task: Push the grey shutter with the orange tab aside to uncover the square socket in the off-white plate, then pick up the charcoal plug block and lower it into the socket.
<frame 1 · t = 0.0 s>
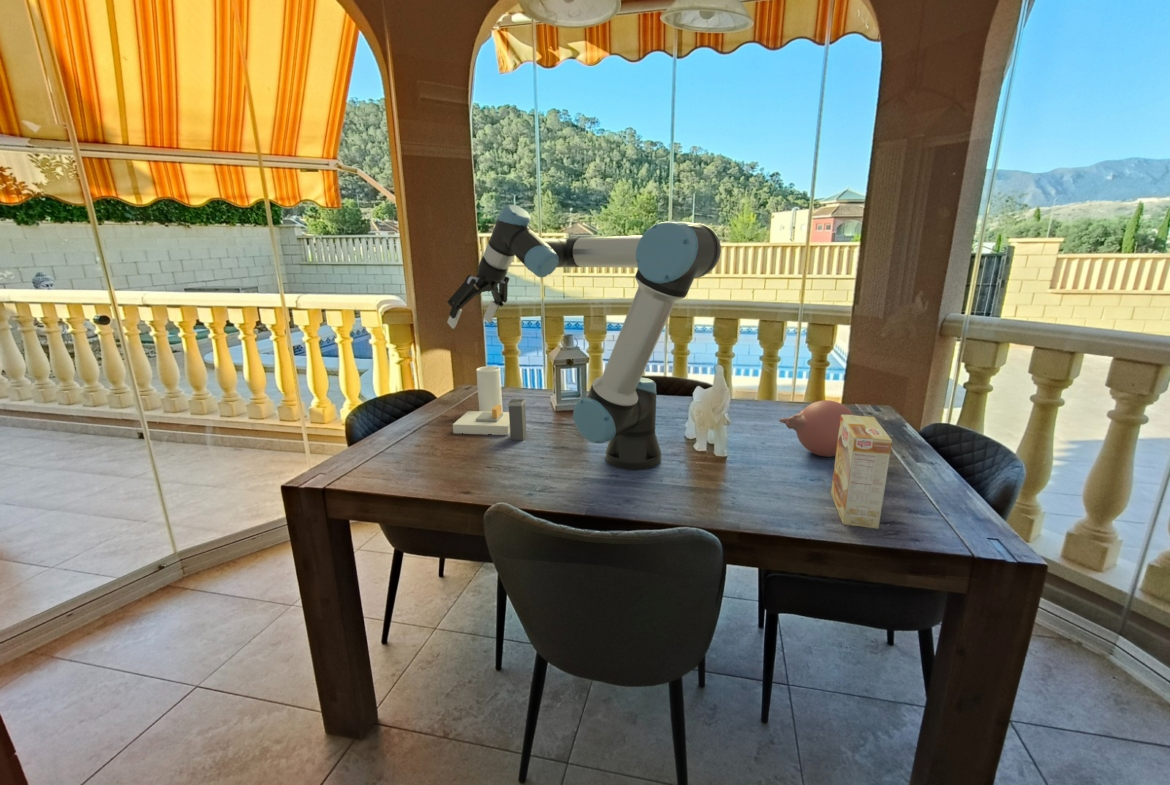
hand: (469, 322, 146), 36 cm above the table, tool tilted 35°, fingers open, 13 cm apart
plug: (518, 437, 156), on the table
cup: (491, 412, 182), on the table
pomegranate: (814, 454, 141), on the table
shutter: (489, 412, 165), point 5 cm above the table, slide at 0.0 cm
coffeecake box: (852, 510, 110), on the table
socket plate: (487, 426, 166), on the table
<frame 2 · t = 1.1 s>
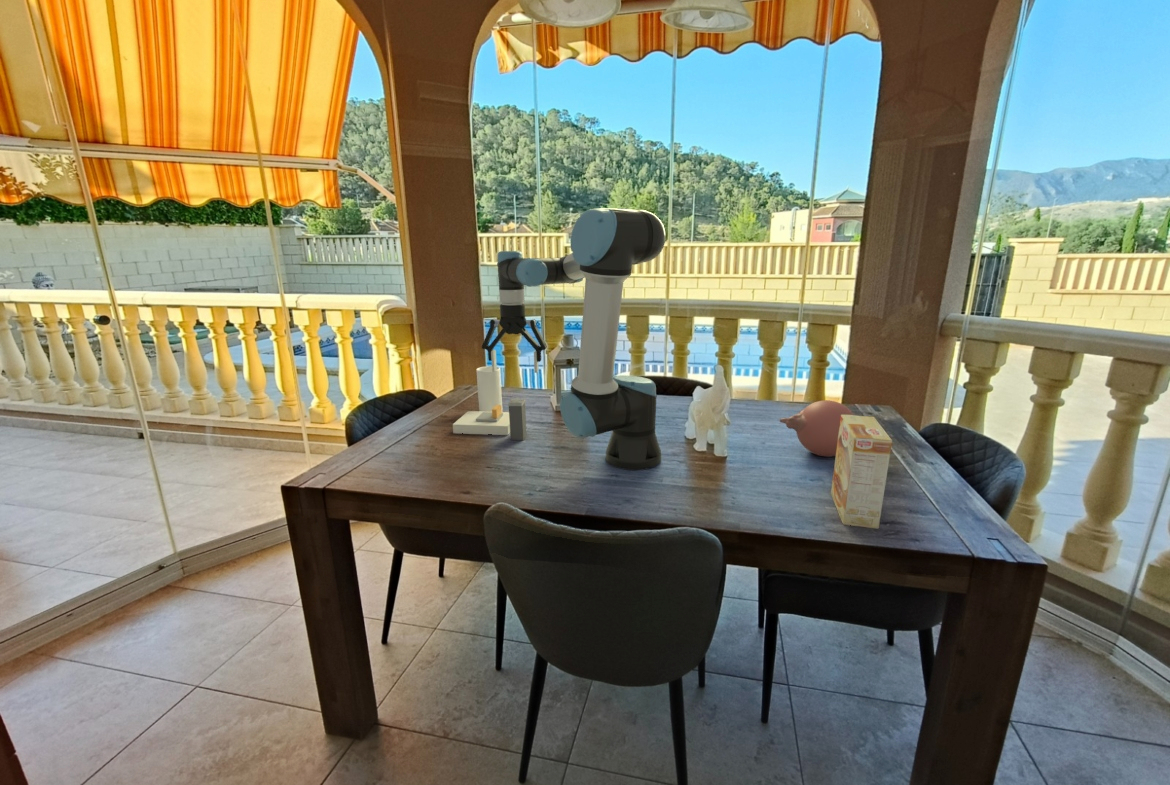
hand: (515, 371, 159), 19 cm above the table, tool pointing down, fingers open, 13 cm apart
nothing on the table moved.
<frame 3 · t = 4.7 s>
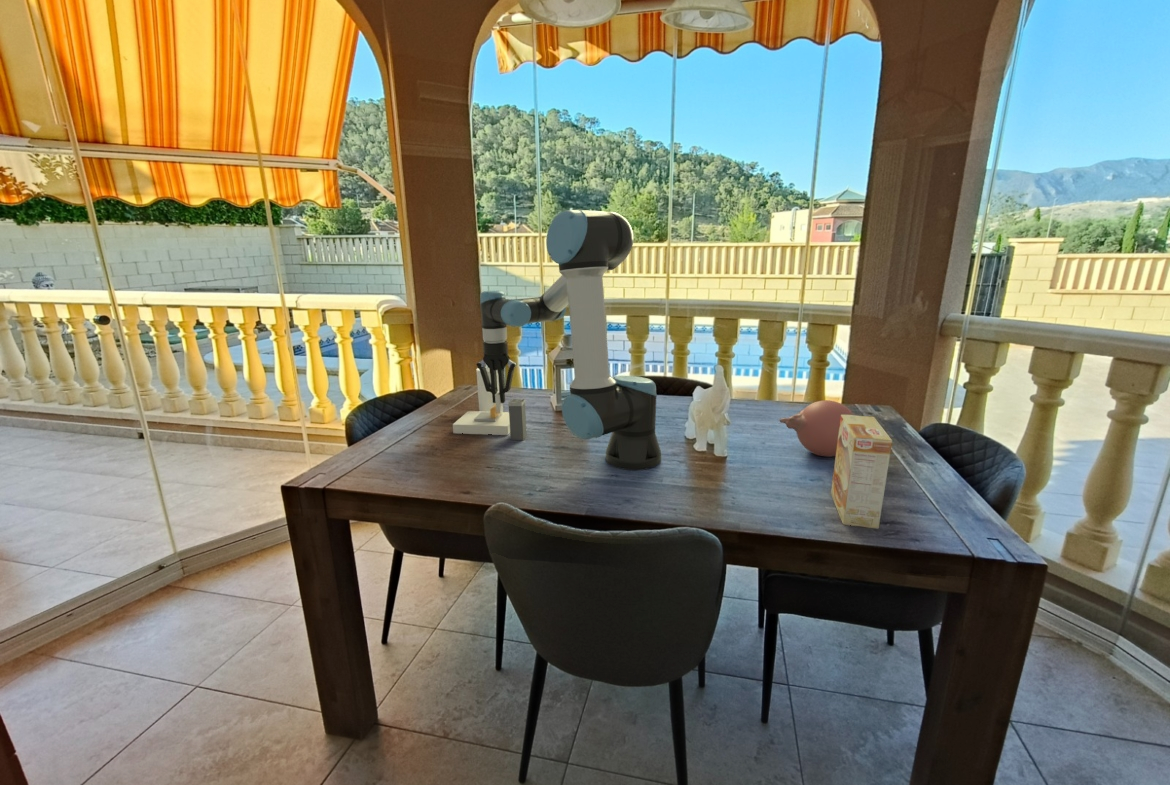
hand: (499, 412, 165), 5 cm above the table, tool pointing down, fingers closed
shutter: (487, 412, 165), point 5 cm above the table, slide at 0.6 cm, touching gripper
everything else where it was.
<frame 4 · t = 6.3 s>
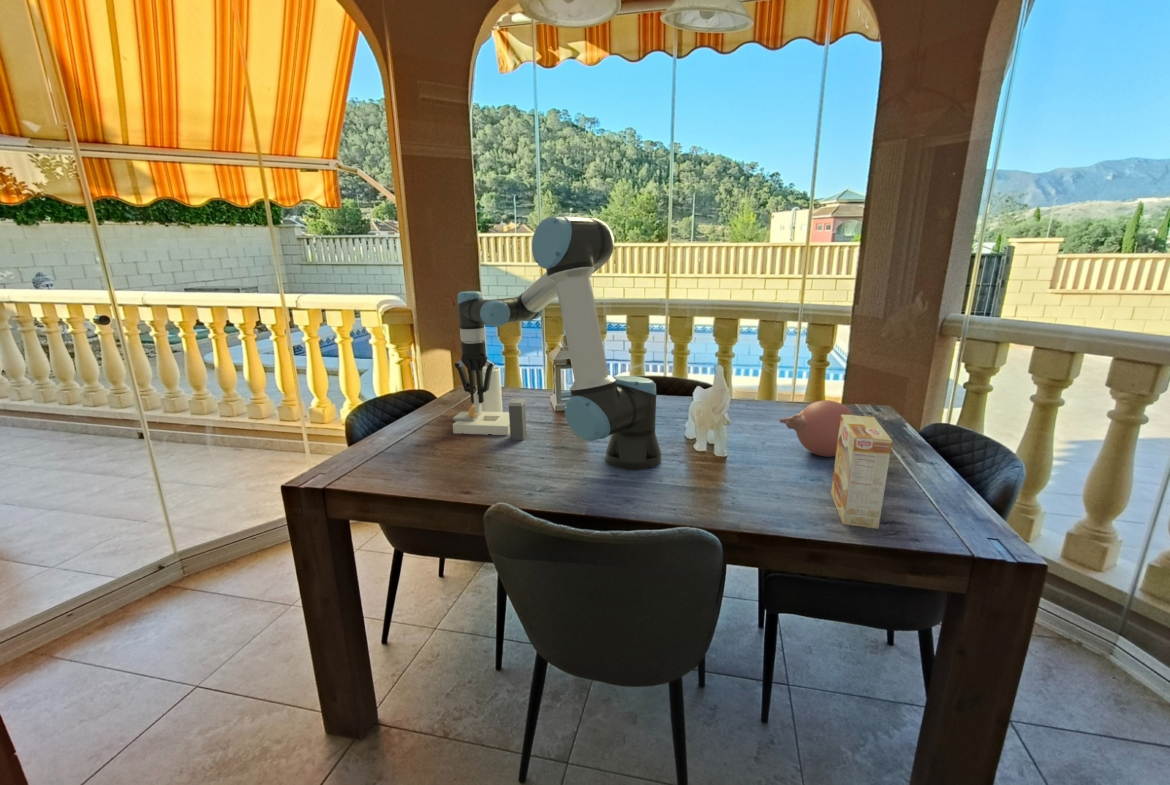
hand: (478, 412, 166), 5 cm above the table, tool pointing down, fingers closed
shutter: (466, 411, 166), point 5 cm above the table, slide at 7.8 cm
everything else where it was.
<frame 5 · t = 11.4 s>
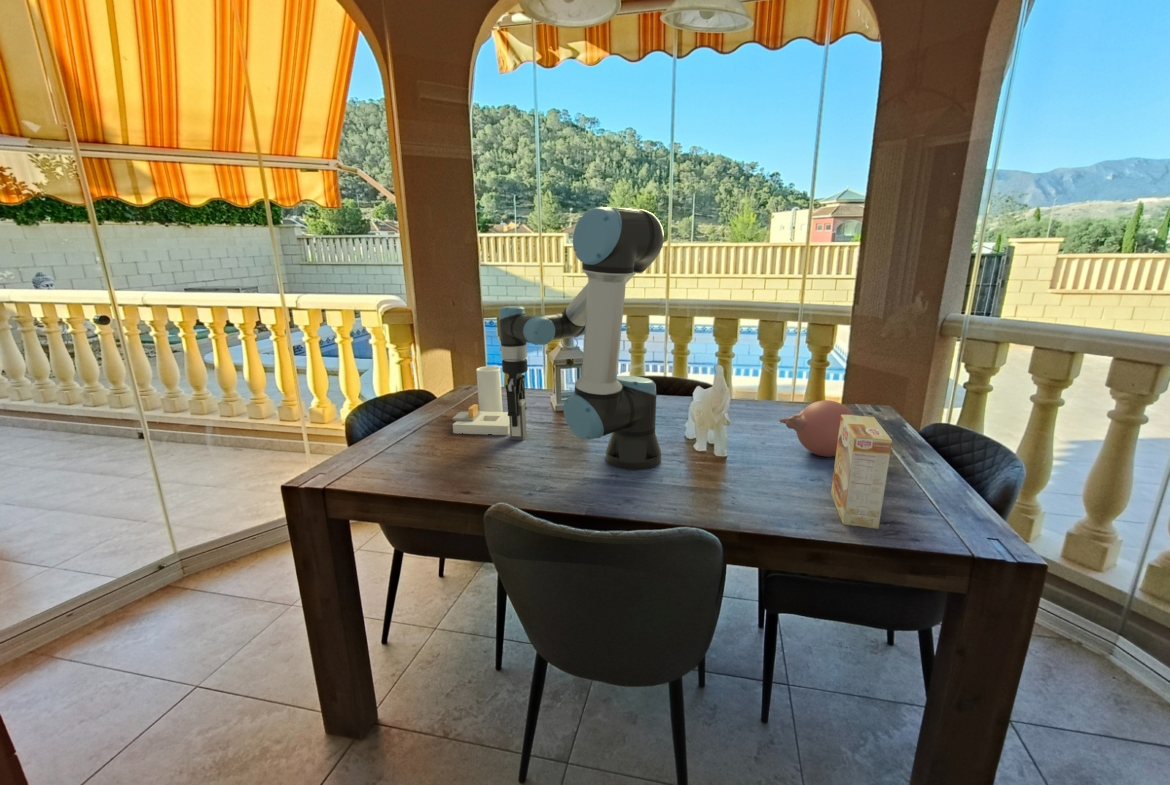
hand: (518, 432, 156), 2 cm above the table, tool pointing down, fingers closed on plug, 4 cm apart
plug: (518, 437, 156), on the table, touching gripper
everything else where it was.
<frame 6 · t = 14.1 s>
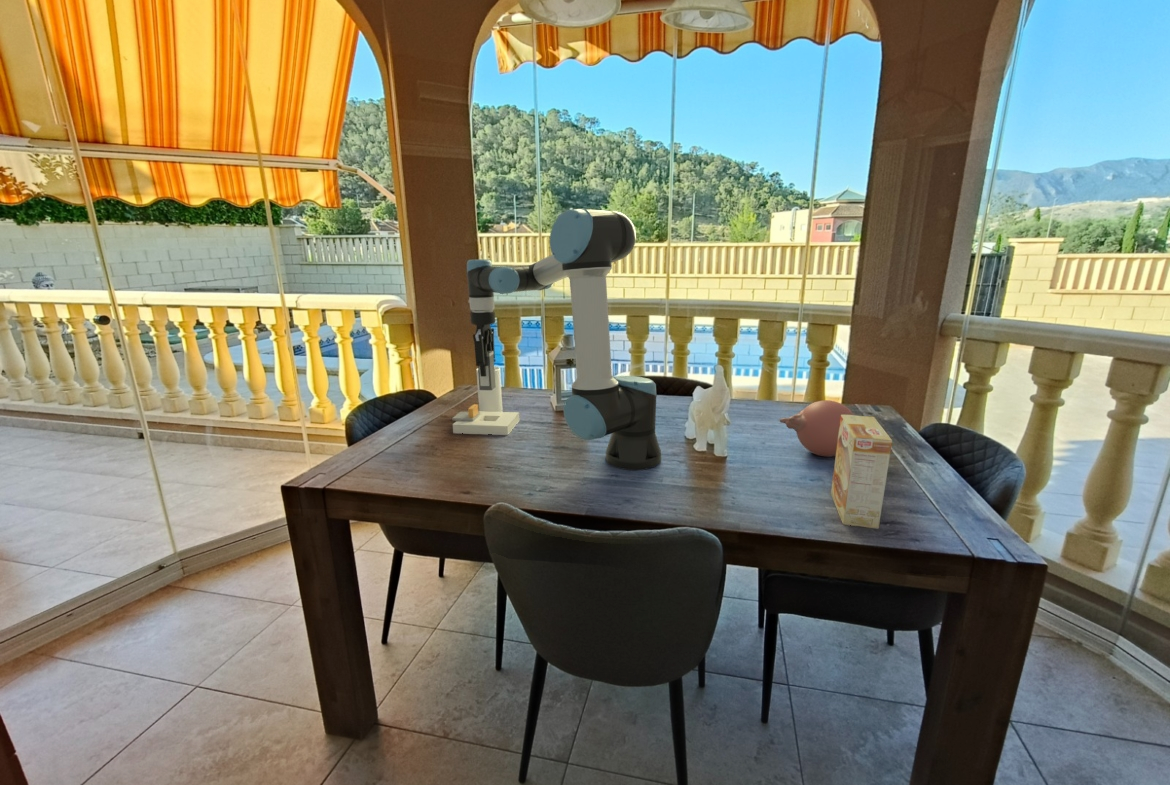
hand: (487, 383, 162), 15 cm above the table, tool pointing down, fingers closed on plug, 4 cm apart
plug: (487, 388, 163), point 13 cm above the table, touching gripper
everything else where it was.
when the fingers open (4 cm above the table, at t = 16.7 s): plug drops 2 cm, resting in socket plate.
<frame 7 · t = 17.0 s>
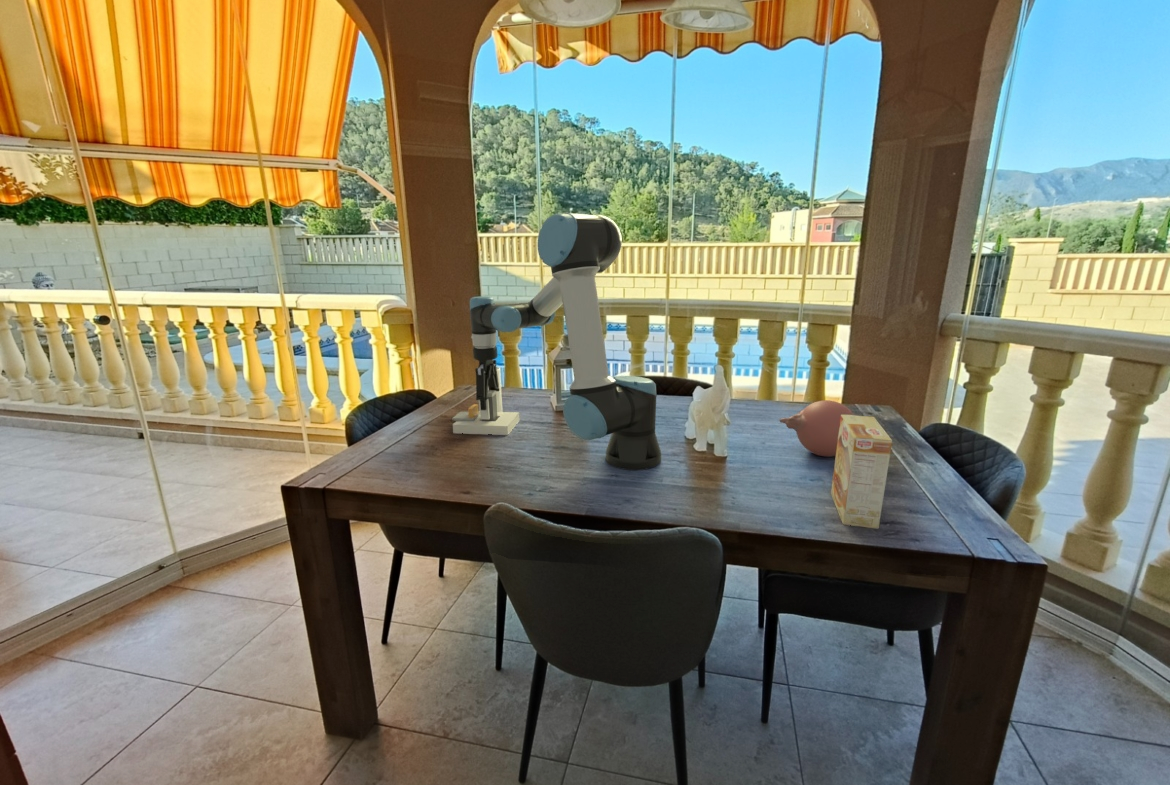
hand: (489, 414, 165), 4 cm above the table, tool pointing down, fingers open, 8 cm apart
plug: (490, 427, 166), resting in socket plate
everything else where it was.
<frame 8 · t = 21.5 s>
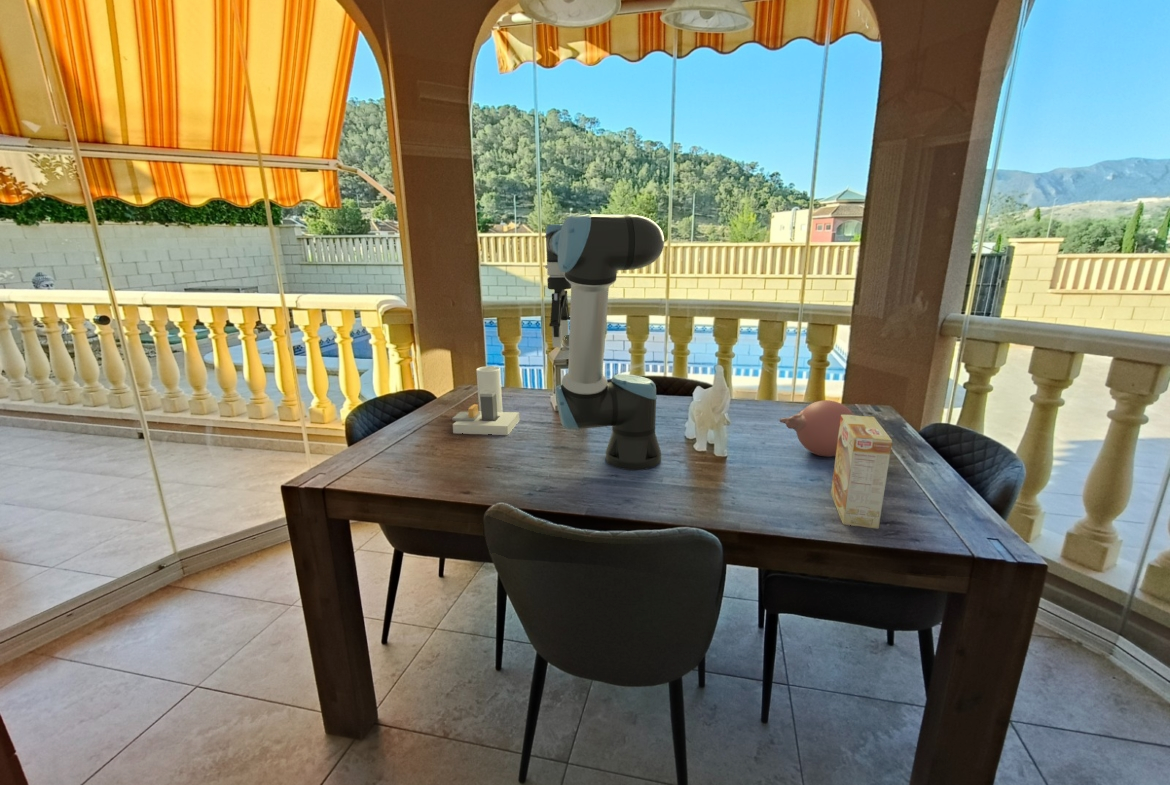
hand: (561, 343, 164), 27 cm above the table, tool pointing down, fingers open, 13 cm apart
nothing on the table moved.
at the end: plug 0.0 cm from the target spot on the socket plate, point 0.0 cm above the socket plate's base; plug tilted 0°; shutter slide at 7.9 cm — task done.
